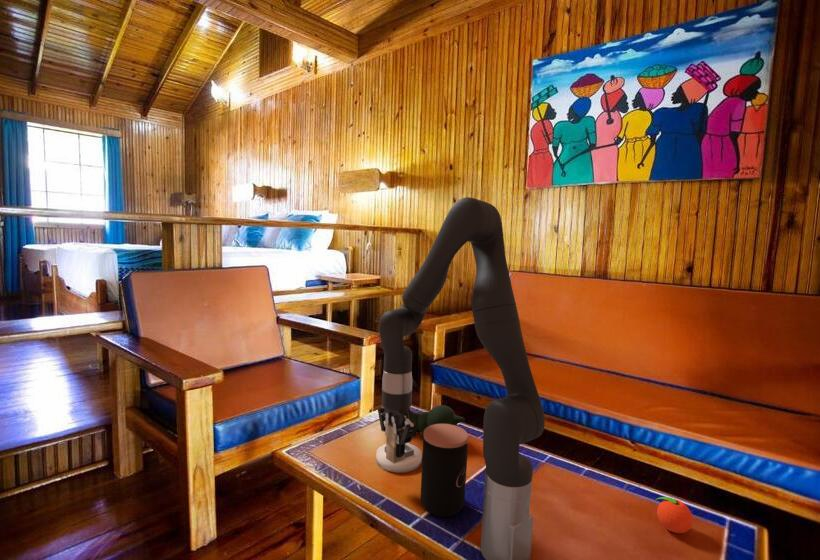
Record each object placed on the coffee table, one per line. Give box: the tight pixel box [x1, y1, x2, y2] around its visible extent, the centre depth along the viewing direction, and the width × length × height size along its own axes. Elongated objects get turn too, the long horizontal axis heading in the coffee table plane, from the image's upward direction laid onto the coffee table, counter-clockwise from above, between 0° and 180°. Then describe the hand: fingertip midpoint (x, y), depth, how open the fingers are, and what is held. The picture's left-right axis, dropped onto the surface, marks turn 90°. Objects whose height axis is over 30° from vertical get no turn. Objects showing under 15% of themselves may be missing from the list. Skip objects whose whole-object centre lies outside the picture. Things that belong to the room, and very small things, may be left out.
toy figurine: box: [408, 378, 466, 439], centre depth 138 cm, size 9×19×25 cm
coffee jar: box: [419, 424, 469, 518], centre depth 104 cm, size 11×11×18 cm
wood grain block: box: [385, 424, 405, 464], centre depth 110 cm, size 3×3×9 cm
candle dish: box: [375, 442, 423, 474], centre depth 124 cm, size 13×13×4 cm
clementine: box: [655, 496, 694, 534], centre depth 99 cm, size 8×7×7 cm
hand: (395, 452), depth 110 cm, fingers closed on wood grain block, 3 cm apart
